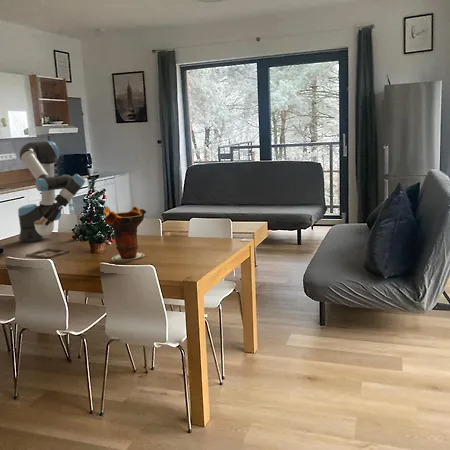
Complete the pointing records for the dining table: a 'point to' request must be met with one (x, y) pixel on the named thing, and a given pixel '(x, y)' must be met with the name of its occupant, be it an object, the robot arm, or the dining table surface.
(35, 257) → the walnut frame
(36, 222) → the lidded jar
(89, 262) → the dining table surface
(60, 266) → the dining table surface
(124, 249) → the decorative vase
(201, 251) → the dining table surface
